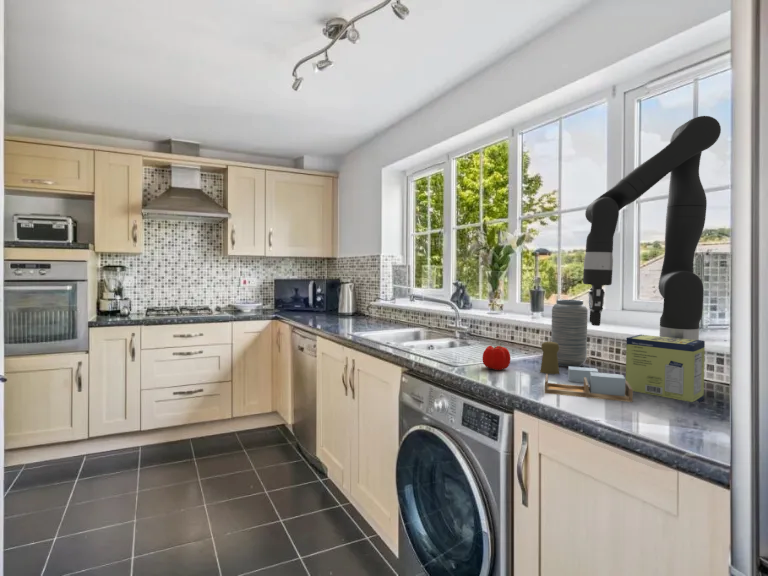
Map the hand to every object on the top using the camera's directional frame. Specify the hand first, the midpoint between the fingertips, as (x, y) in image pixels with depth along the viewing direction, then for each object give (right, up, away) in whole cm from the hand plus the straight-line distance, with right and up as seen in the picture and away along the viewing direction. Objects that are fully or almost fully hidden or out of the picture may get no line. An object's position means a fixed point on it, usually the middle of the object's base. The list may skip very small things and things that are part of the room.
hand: (594, 324), depth 126 cm
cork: (-9, -18, +10) cm, 22 cm away
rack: (-9, -18, -14) cm, 25 cm away
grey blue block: (-4, -18, -1) cm, 18 cm away
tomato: (-24, -17, +21) cm, 36 cm away
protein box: (+12, -19, -12) cm, 25 cm away
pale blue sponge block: (-5, -17, -16) cm, 23 cm away
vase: (+4, -17, +28) cm, 33 cm away
